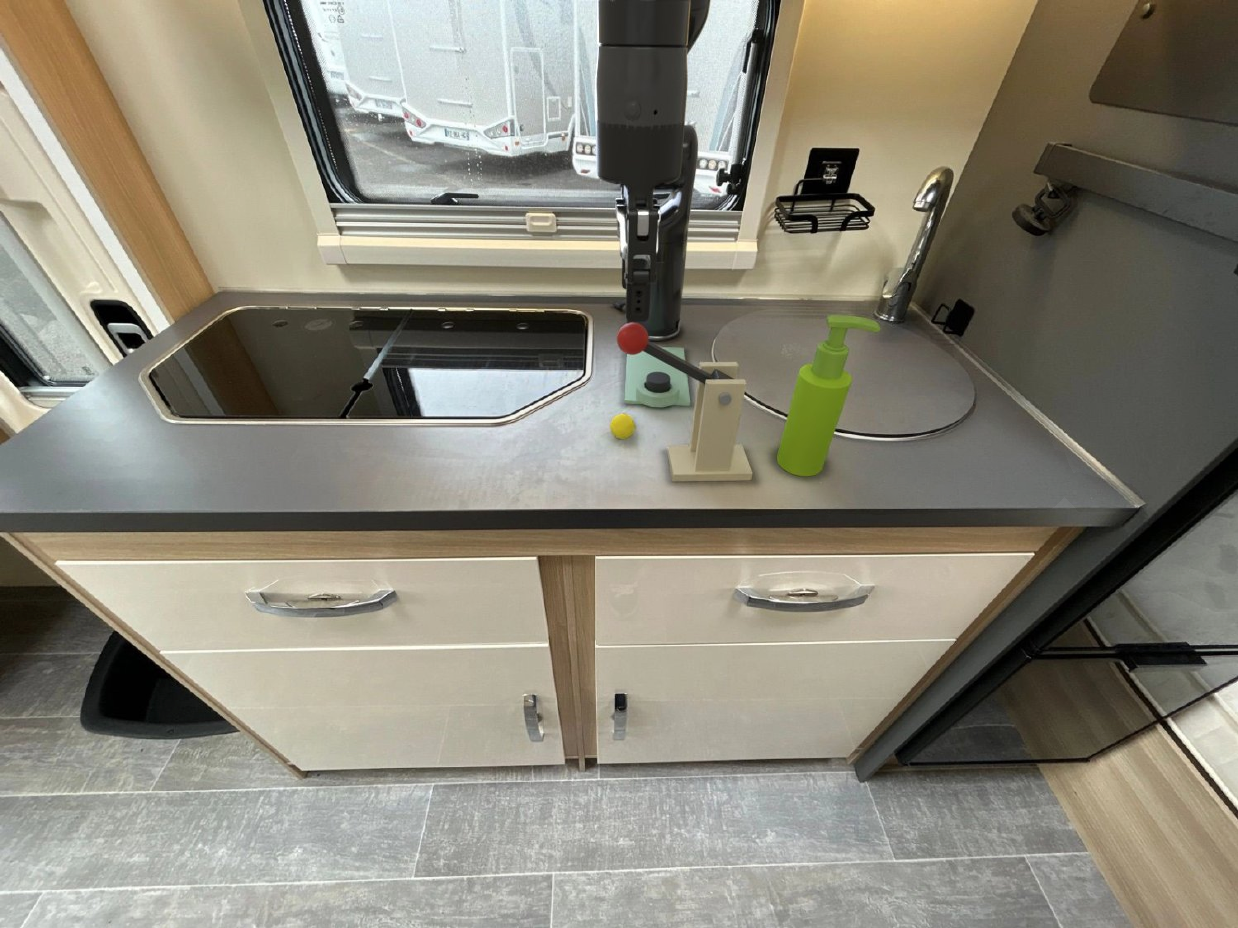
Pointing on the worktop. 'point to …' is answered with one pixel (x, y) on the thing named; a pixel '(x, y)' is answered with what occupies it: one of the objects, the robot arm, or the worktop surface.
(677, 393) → the button block
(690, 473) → the bracket
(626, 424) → the yellow rounded piece
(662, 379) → the button
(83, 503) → the worktop surface
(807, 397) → the soap dispenser
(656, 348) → the lever
